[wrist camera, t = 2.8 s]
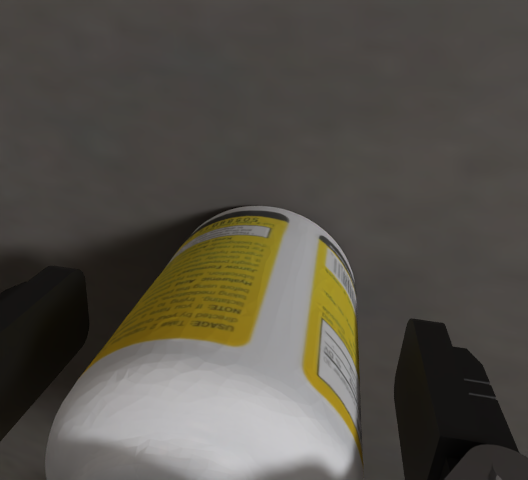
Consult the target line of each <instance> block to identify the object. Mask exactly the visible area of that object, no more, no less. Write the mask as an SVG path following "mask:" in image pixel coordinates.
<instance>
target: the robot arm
mask: <svg viewBox="0 0 528 480" xmlns="http://www.w3.org/2000/svg"><path fill="white" fill-rule="evenodd" d="M88 331H89V315H88V304H87V294H86V283H85V276H84V274H83V272H82V271H81V270H78V269H71V268H64V267H58V266H48V267H47V268H45V269H44V270H42V271H41V272H40V273H38V274H37V275H36V276H35V277H33V278H32V279H31V280H29V281H28V282H24V283H22V284H19V285H17V286H14V287H12V288H10V289H7V290H5V291H3V292H2V293H1V294H0V441H1V440H2V439H3V438H4V437H5V435H6V434H7V433H8V432H9V431H10V430H11V428H12V427H13V426H14V425H15V424H16V423H17V422H18V420H19V419H20V418H21V417H22V416H23V415H24V413H25V412H26V411H27V410H28V409H29V408H30V406H31V405H32V404H33V403H34V402H35V401H36V400H37V398H38V397H39V396H40V395H41V394H42V393H43V391H44V390H45V389H46V388H47V387H48V386H49V385H50V383H51V382H52V381H53V380H54V379H55V378H56V376H57V375H58V374H59V373H60V372H61V371H62V369H63V368H64V367H65V366H66V365H67V364H68V363H69V361H70V360H71V359H72V358H73V357H74V356H75V354H76V353H77V352H78V351H79V350H80V349H81V347H82V346H83V344H84V343H85V341H86V338H87V335H88ZM489 383H490V382H489V379H488V377H487V375H486V372H485V370H484V367H483V365H482V364H481V363H480V362H479V361H478V360H477V359H476V358H475V357H474V356H473V355H472V354H471V353H470V352H469V351H468V350H467V349H465V348H459V347H453V346H452V344H451V341H450V338H449V335H448V332H447V329H446V326H445V324H444V323H439V322H432V321H425V320H418V319H409V321H408V323H407V327H406V331H405V335H404V340H403V344H402V348H401V353H400V357H399V362H398V366H397V370H396V376H395V384H394V401H395V408H396V416H397V423H398V431H399V438H400V446H401V453H402V461H403V468H404V476H405V480H528V458H527V457H526V456H524V455H522V454H520V453H519V451H518V449H517V446H516V444H515V441H514V439H513V437H512V434H511V432H510V429H509V427H508V425H507V422H506V420H505V418H504V415H503V413H502V410H501V408H500V406H499V403H498V401H497V400H495V397H496V396H495V394H494V391H493V389H492V387H491V385H489Z"/></svg>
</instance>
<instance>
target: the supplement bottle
mask: <svg viewBox="0 0 528 480" xmlns="http://www.w3.org/2000/svg"><path fill="white" fill-rule="evenodd" d="M45 471H46V480H363V456H362V430H361V405H360V377H359V351H358V321H357V299H356V289H355V283H354V277H353V273H352V271H351V268H350V265H349V263H348V261H347V259H346V256H345V255H344V253H343V251H342V250H341V248H340V247H339V245H338V244H337V243H336V242H335V241H334V239H333V238H332V237H331V236H330V235H329V234H328V233H327V232H326V231H324V230H323V229H322V228H321V227H319V226H318V225H317V224H315V223H314V222H312V221H311V220H309V219H307V218H305V217H303V216H301V215H299V214H296V213H294V212H291V211H288V210H285V209H281V208H276V207H269V206H246V207H239V208H235V209H231V210H228V211H225V212H223V213H220V214H218V215H216V216H214V217H212V218H211V219H209V220H207V221H206V222H204V223H203V224H202V225H201V226H199V227H198V228H197V229H196V230H195V231H194V232H193V233H192V234H191V235H190V236H189V237H188V238H187V240H186V241H185V242H184V243H183V244H182V246H181V247H180V248H179V250H178V251H177V252H176V253H175V255H174V256H173V257H172V259H171V260H170V262H169V263H168V264H167V266H166V267H165V268H164V270H163V271H162V273H161V274H160V275H159V276H158V278H157V279H156V280H155V281H154V283H153V284H152V285H151V286H150V288H149V289H148V290H147V291H146V293H145V294H144V295H143V296H142V298H141V299H140V300H139V302H138V303H137V304H136V305H135V307H134V308H133V309H132V311H131V312H130V313H129V314H128V316H127V317H126V318H125V320H124V321H123V322H122V324H121V325H120V326H119V327H118V329H117V330H116V331H115V333H114V334H113V335H112V337H111V338H110V339H109V341H108V342H107V343H106V345H105V346H104V347H103V348H102V350H101V351H100V352H99V353H98V355H97V356H96V357H95V358H94V360H93V361H92V362H91V364H90V365H89V366H88V367H87V369H86V370H85V371H84V372H83V374H82V375H81V376H80V378H79V379H78V380H77V382H76V383H75V385H74V386H73V388H72V389H71V391H70V392H69V394H68V395H67V397H66V398H65V399H64V401H63V403H62V405H61V407H60V408H59V410H58V412H57V414H56V416H55V419H54V422H53V425H52V427H51V430H50V434H49V438H48V443H47V449H46V456H45Z"/></svg>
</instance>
